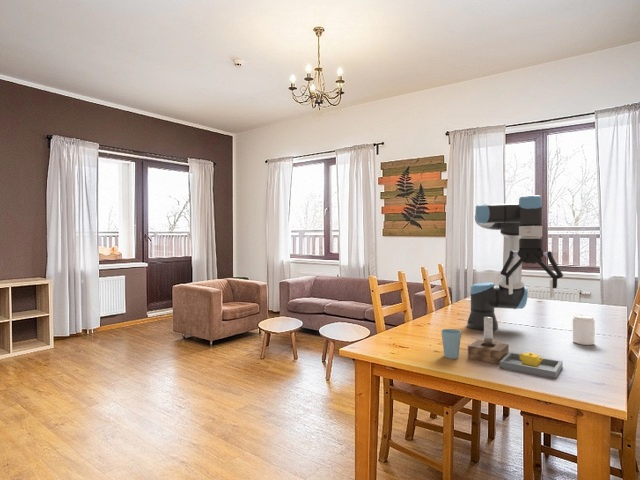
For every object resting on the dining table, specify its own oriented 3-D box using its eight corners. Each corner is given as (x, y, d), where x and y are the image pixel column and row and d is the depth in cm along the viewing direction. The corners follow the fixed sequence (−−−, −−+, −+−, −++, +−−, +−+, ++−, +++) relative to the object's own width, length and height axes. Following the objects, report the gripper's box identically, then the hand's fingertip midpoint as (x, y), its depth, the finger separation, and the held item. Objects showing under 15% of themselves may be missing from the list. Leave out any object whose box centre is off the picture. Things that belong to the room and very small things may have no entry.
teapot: (546, 367, 144) (546, 353, 144) (541, 371, 140) (541, 356, 140) (523, 362, 150) (523, 348, 150) (517, 365, 146) (517, 352, 146)
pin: (482, 352, 157) (482, 317, 157) (485, 350, 160) (485, 316, 159) (491, 354, 155) (491, 318, 155) (493, 352, 158) (493, 317, 157)
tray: (499, 367, 145) (499, 361, 145) (509, 358, 156) (509, 352, 156) (555, 378, 134) (555, 371, 134) (562, 367, 145) (562, 361, 144)
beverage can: (584, 346, 170) (584, 319, 170) (568, 341, 178) (568, 315, 178) (599, 344, 173) (599, 317, 172) (582, 340, 180) (582, 314, 180)
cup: (439, 353, 163) (439, 328, 163) (458, 353, 163) (458, 328, 162) (443, 359, 156) (443, 333, 155) (463, 359, 155) (463, 333, 155)
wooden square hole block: (468, 358, 157) (468, 345, 157) (478, 351, 166) (478, 339, 166) (499, 364, 149) (499, 351, 149) (508, 356, 158) (508, 344, 158)
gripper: (491, 238, 149) (492, 293, 150) (568, 238, 133) (568, 300, 134) (497, 237, 155) (497, 291, 155) (572, 237, 139) (572, 297, 139)
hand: (530, 295), depth 144 cm, fingers open, 13 cm apart
